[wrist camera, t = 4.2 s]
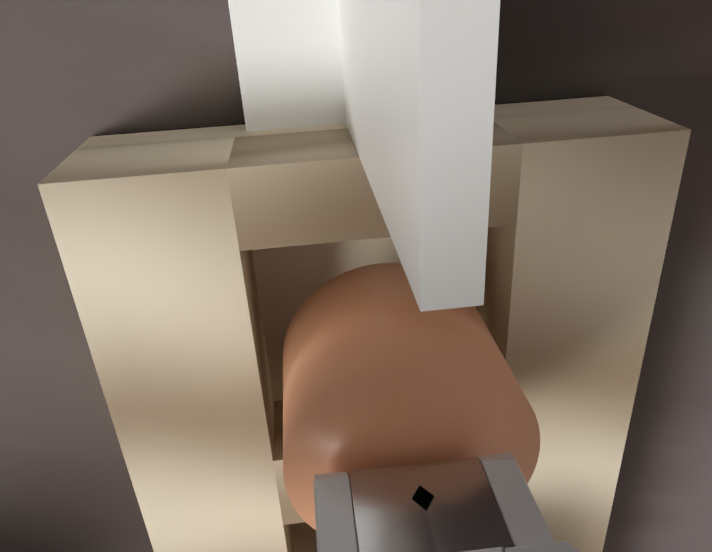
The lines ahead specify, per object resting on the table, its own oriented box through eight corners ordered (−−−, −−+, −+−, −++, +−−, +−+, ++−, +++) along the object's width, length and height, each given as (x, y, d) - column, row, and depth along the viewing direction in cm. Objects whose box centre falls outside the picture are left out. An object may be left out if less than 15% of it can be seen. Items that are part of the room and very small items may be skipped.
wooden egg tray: (90, 136, 12) (37, 184, 10) (608, 95, 13) (690, 129, 10) (242, 715, 23) (237, 815, 20) (526, 673, 23) (557, 763, 21)
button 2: (271, 273, 11) (267, 373, 8) (488, 252, 11) (552, 343, 8) (294, 441, 13) (296, 566, 10) (478, 418, 13) (529, 536, 10)
